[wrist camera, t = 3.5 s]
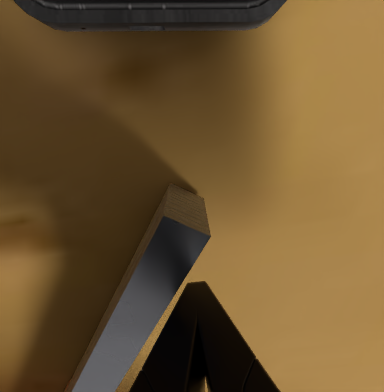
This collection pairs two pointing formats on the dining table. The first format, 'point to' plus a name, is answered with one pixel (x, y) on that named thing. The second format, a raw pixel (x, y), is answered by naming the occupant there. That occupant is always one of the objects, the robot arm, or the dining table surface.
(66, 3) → the phone
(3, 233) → the dining table surface
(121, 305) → the arm
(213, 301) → the robot arm
